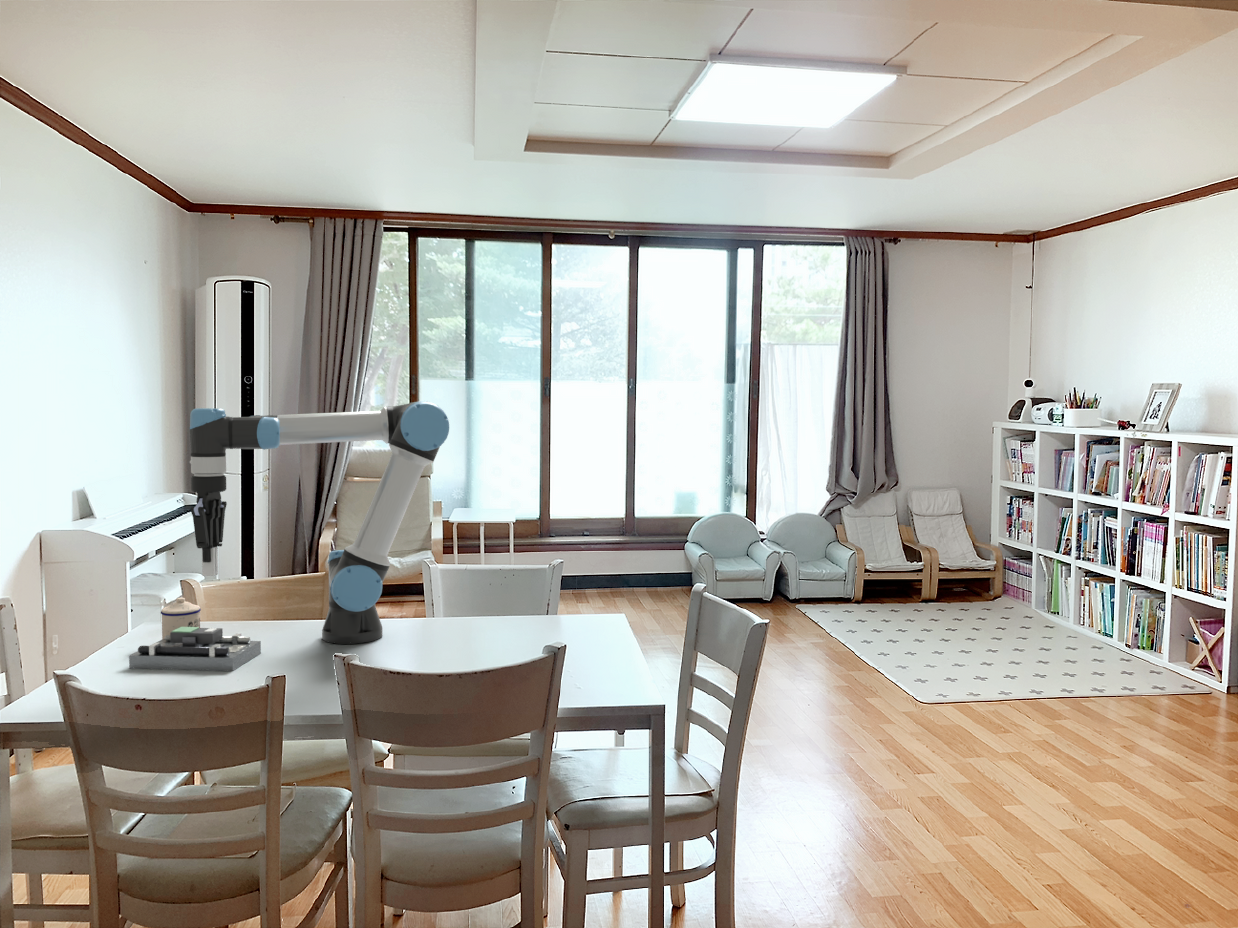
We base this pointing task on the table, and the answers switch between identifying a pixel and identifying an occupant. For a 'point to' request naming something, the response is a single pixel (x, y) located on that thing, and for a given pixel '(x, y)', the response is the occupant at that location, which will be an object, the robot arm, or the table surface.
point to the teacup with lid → (179, 616)
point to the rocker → (197, 634)
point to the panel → (196, 659)
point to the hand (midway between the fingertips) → (210, 575)
